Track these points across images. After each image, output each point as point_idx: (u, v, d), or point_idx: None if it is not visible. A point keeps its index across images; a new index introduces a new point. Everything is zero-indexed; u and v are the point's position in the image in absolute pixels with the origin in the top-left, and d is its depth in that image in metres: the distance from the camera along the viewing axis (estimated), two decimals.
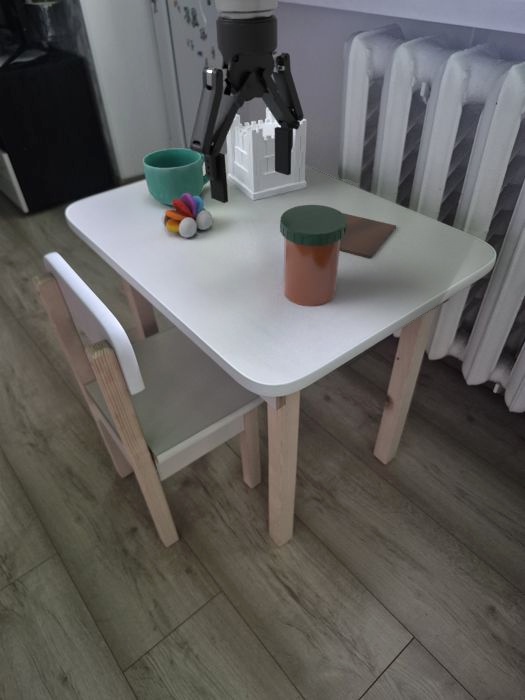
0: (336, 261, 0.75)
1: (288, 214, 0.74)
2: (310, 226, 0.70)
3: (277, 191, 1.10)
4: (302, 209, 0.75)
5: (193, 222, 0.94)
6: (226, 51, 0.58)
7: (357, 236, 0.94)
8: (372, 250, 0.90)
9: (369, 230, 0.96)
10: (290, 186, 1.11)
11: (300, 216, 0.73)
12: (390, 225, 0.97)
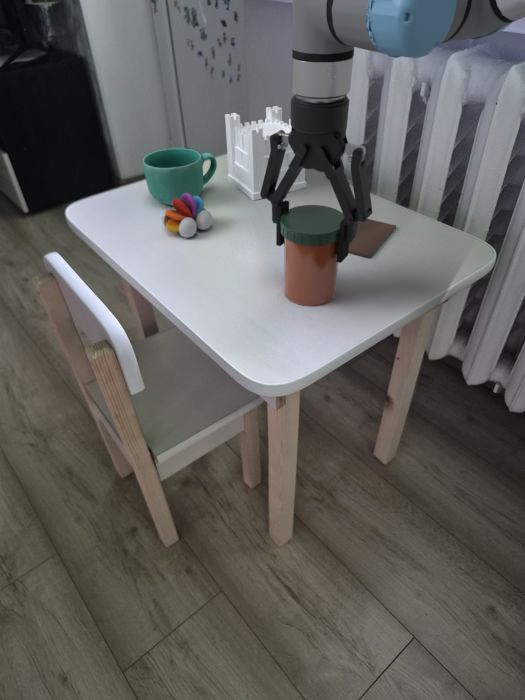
0: None
1: (288, 214, 0.74)
2: (310, 226, 0.70)
3: None
4: (302, 209, 0.75)
5: (193, 222, 0.94)
6: None
7: (357, 236, 0.94)
8: (372, 250, 0.90)
9: (369, 230, 0.96)
10: None
11: (300, 216, 0.73)
12: (390, 225, 0.97)
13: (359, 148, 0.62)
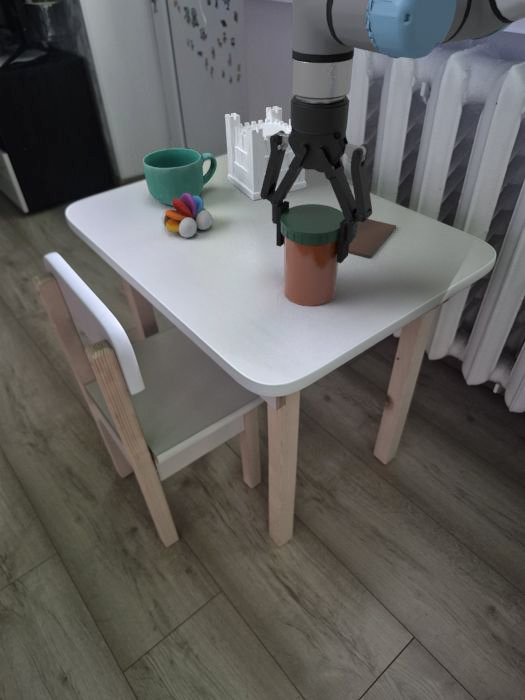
0: None
1: (304, 229, 0.69)
2: (330, 219, 0.72)
3: None
4: (292, 222, 0.71)
5: (193, 222, 0.94)
6: None
7: (357, 236, 0.94)
8: (372, 250, 0.90)
9: (369, 230, 0.96)
10: None
11: (308, 223, 0.71)
12: (390, 225, 0.97)
13: (359, 148, 0.62)
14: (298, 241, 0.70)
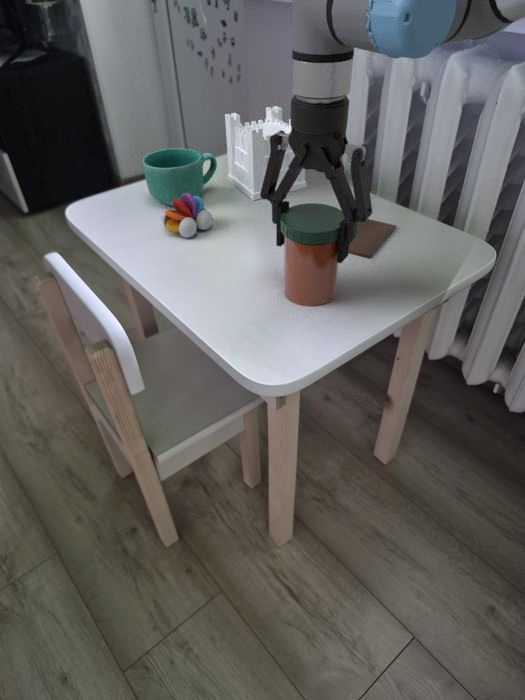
0: None
1: (339, 221, 0.71)
2: (316, 209, 0.74)
3: None
4: (324, 227, 0.70)
5: (193, 222, 0.94)
6: None
7: (357, 236, 0.94)
8: (372, 250, 0.90)
9: (369, 230, 0.96)
10: None
11: (326, 219, 0.71)
12: (390, 225, 0.97)
13: (359, 148, 0.62)
14: None
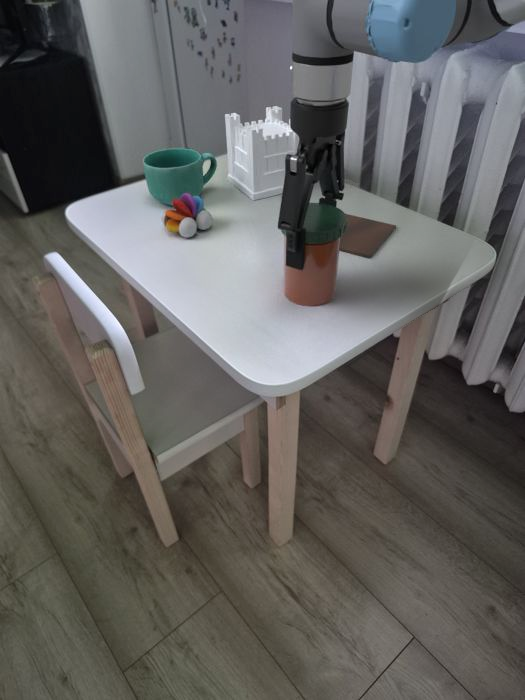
0: (336, 261, 0.75)
1: (322, 205, 0.75)
2: None
3: (277, 191, 1.10)
4: (334, 212, 0.73)
5: (193, 222, 0.94)
6: (305, 134, 0.61)
7: (357, 236, 0.94)
8: (372, 250, 0.90)
9: (369, 230, 0.96)
10: None
11: (317, 210, 0.73)
12: (390, 225, 0.97)
13: None
14: None
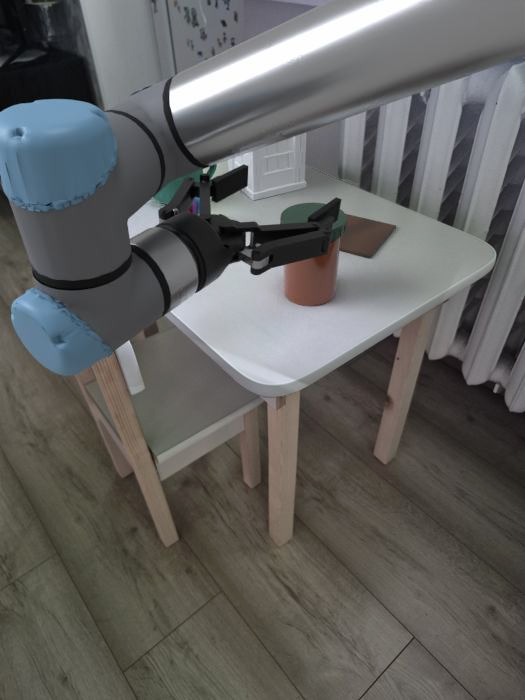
0: (336, 261, 0.75)
1: (322, 205, 0.75)
2: (296, 214, 0.73)
3: (277, 191, 1.10)
4: None
5: None
6: (224, 261, 0.47)
7: (357, 236, 0.94)
8: (372, 250, 0.90)
9: (369, 230, 0.96)
10: (290, 187, 1.11)
11: None
12: (390, 225, 0.97)
13: (160, 216, 0.52)
14: None
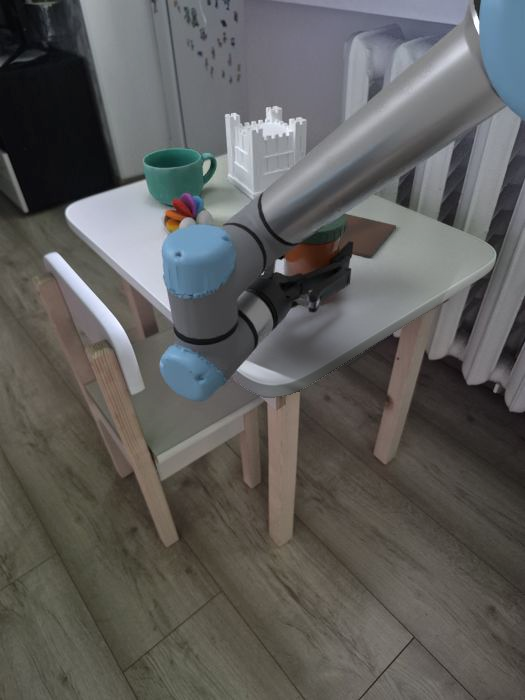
0: None
1: None
2: None
3: None
4: None
5: (193, 222, 0.94)
6: (287, 307, 0.66)
7: (357, 236, 0.94)
8: (372, 250, 0.90)
9: (369, 230, 0.96)
10: None
11: None
12: (390, 225, 0.97)
13: None
14: None
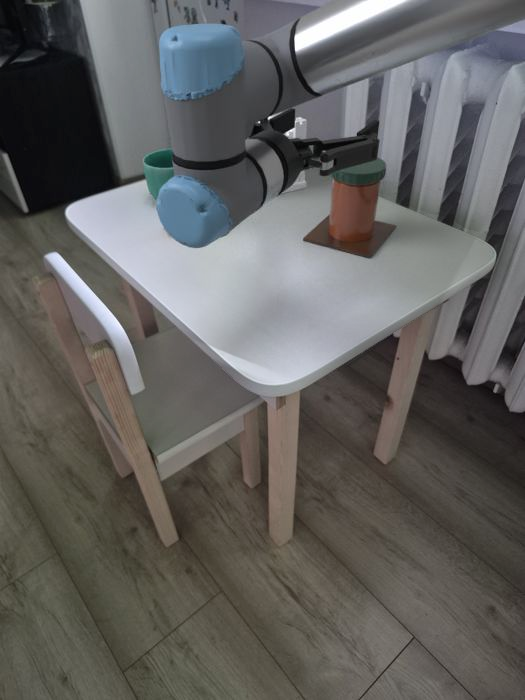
0: (376, 202, 0.89)
1: None
2: None
3: None
4: (375, 160, 0.88)
5: None
6: (299, 166, 0.59)
7: None
8: (372, 250, 0.90)
9: None
10: None
11: None
12: (390, 225, 0.97)
13: None
14: None
